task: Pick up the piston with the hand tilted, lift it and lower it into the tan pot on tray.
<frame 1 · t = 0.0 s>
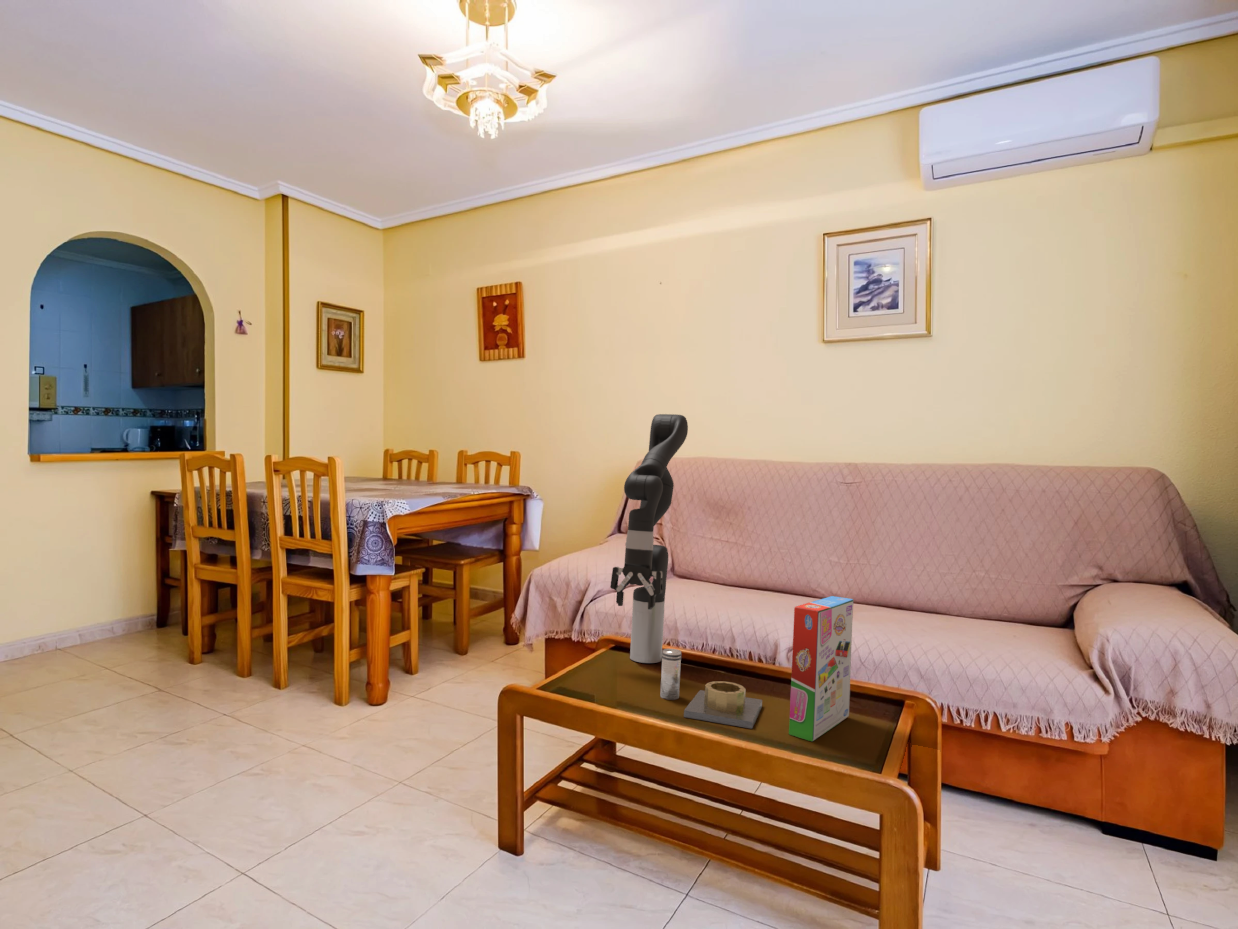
hand: (635, 607, 181), 17 cm above the table, tool pointing down, fingers open, 8 cm apart
tan pot on tray: (724, 711, 152), on the table
piston: (669, 696, 161), on the table
game box: (819, 727, 146), on the table
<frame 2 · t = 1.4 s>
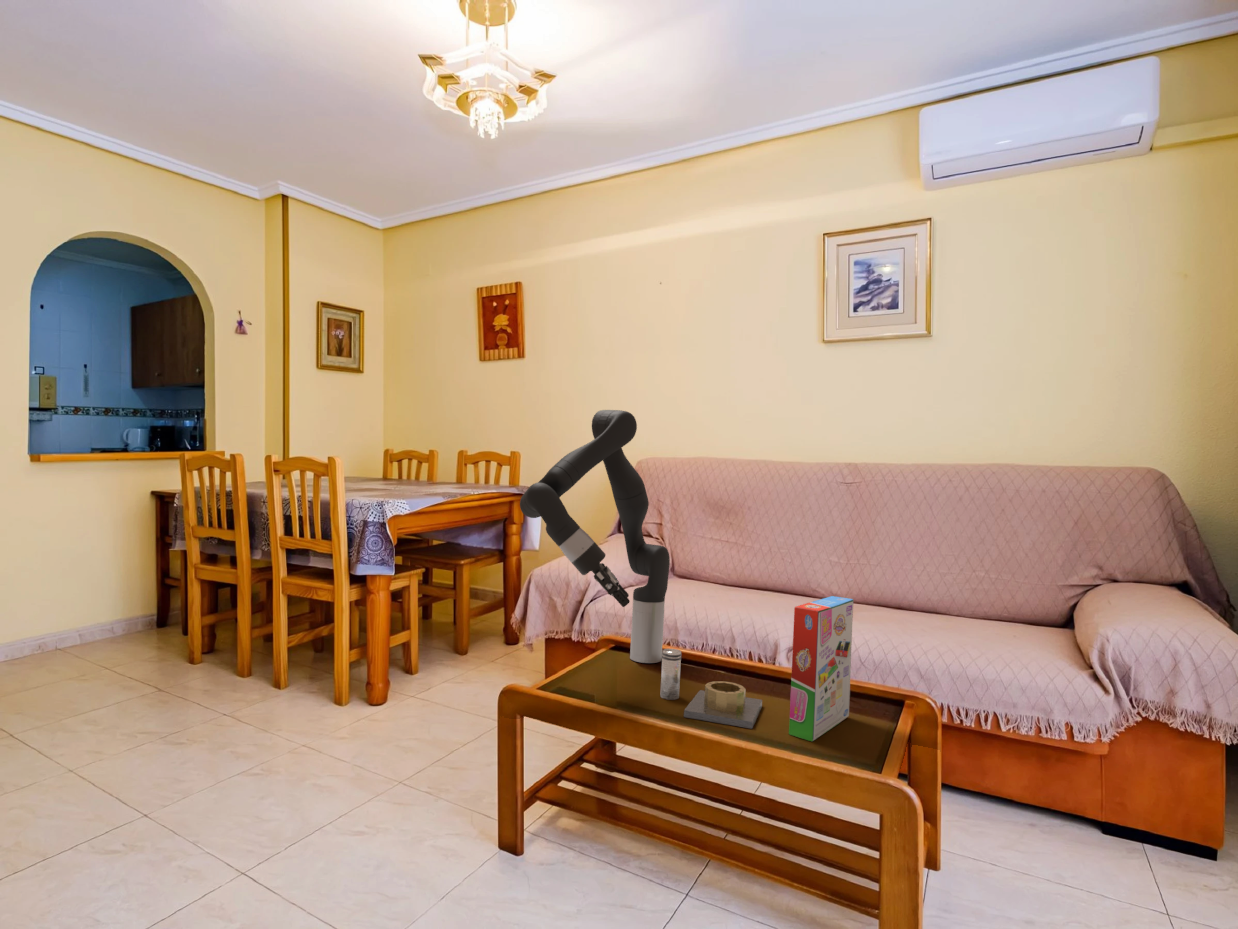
hand: (626, 601, 161), 22 cm above the table, tool tilted 45°, fingers open, 8 cm apart
nothing on the table moved.
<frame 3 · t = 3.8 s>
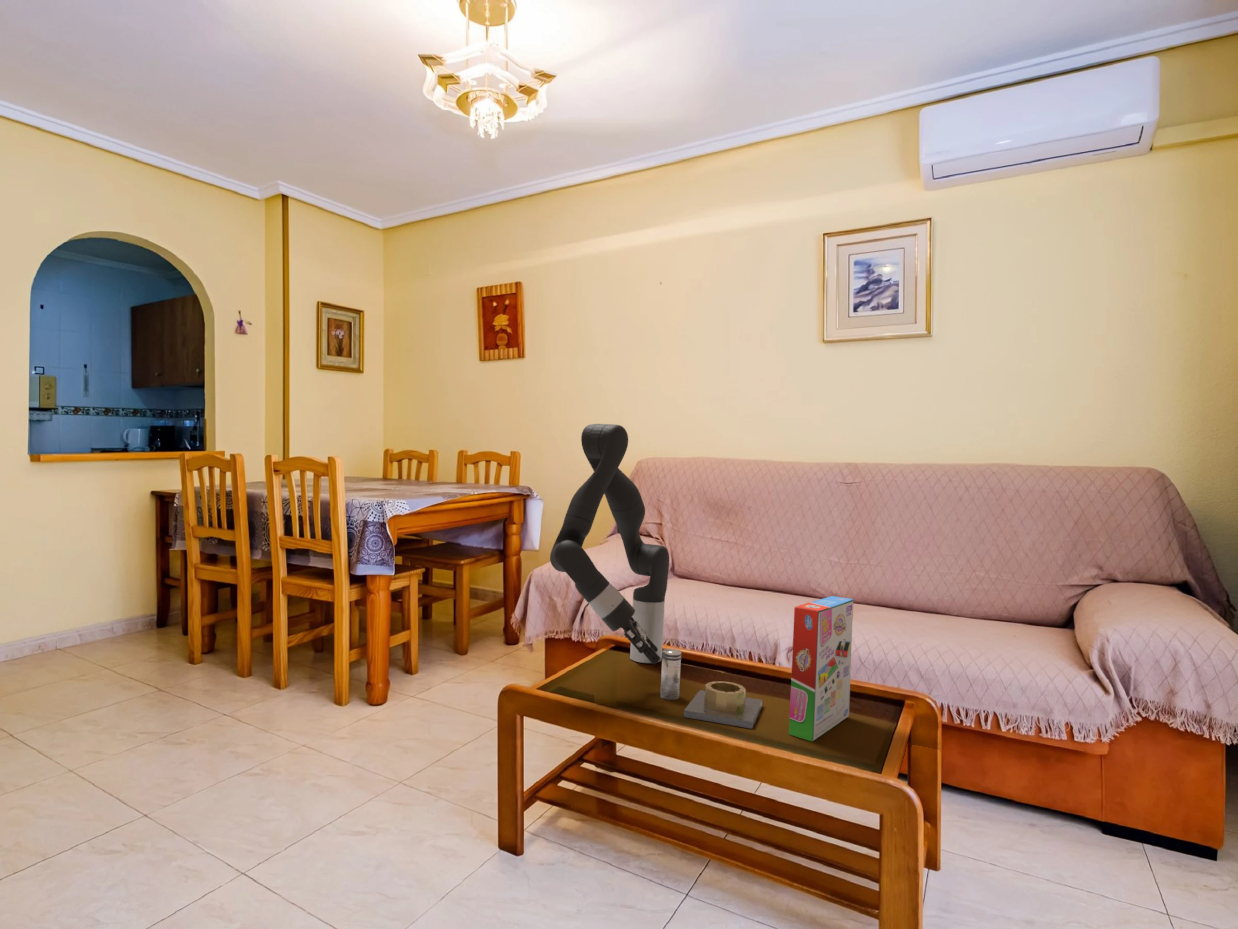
hand: (656, 657, 161), 9 cm above the table, tool tilted 45°, fingers open, 8 cm apart
nothing on the table moved.
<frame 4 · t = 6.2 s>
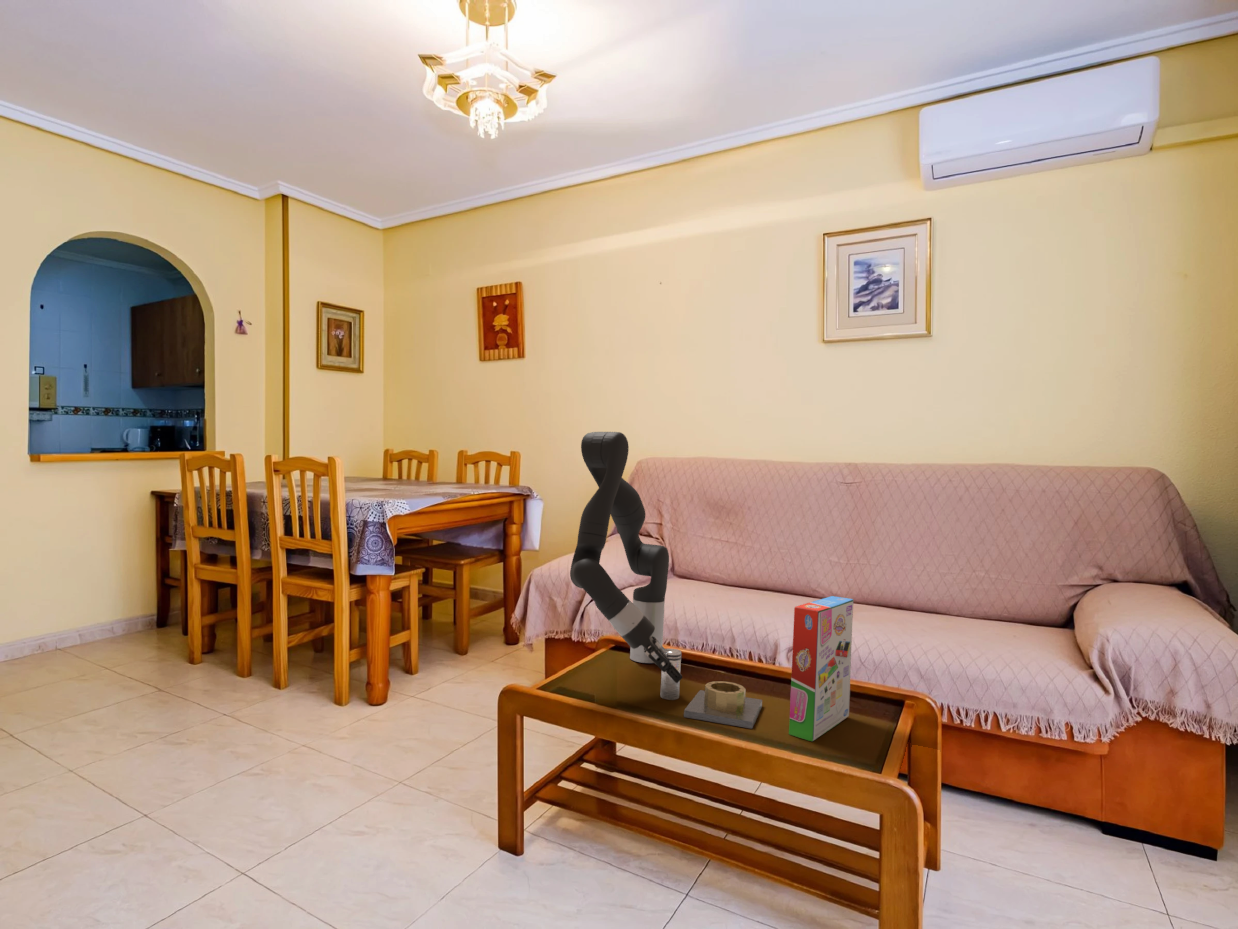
hand: (678, 676, 161), 5 cm above the table, tool tilted 45°, fingers closed on piston, 4 cm apart
piston: (669, 696, 161), on the table, touching gripper
everything else where it was.
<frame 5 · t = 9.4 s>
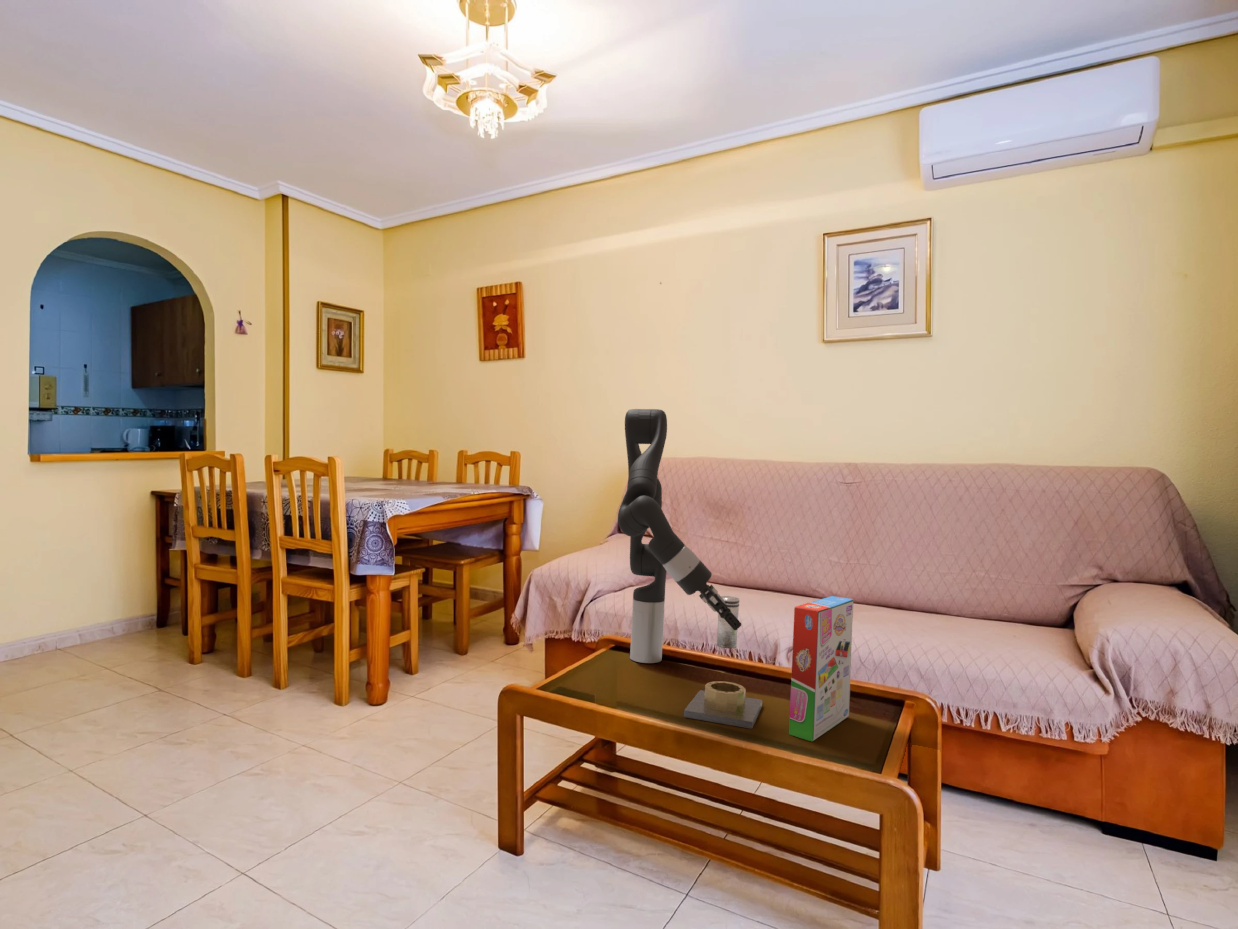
hand: (736, 624, 153), 20 cm above the table, tool tilted 45°, fingers closed on piston, 4 cm apart
piston: (726, 646, 153), point 15 cm above the table, touching gripper
everything else where it was.
when the fingers open (7 cm above the table, at t = 13.0 s): piston stays where it is, resting on tan pot on tray.
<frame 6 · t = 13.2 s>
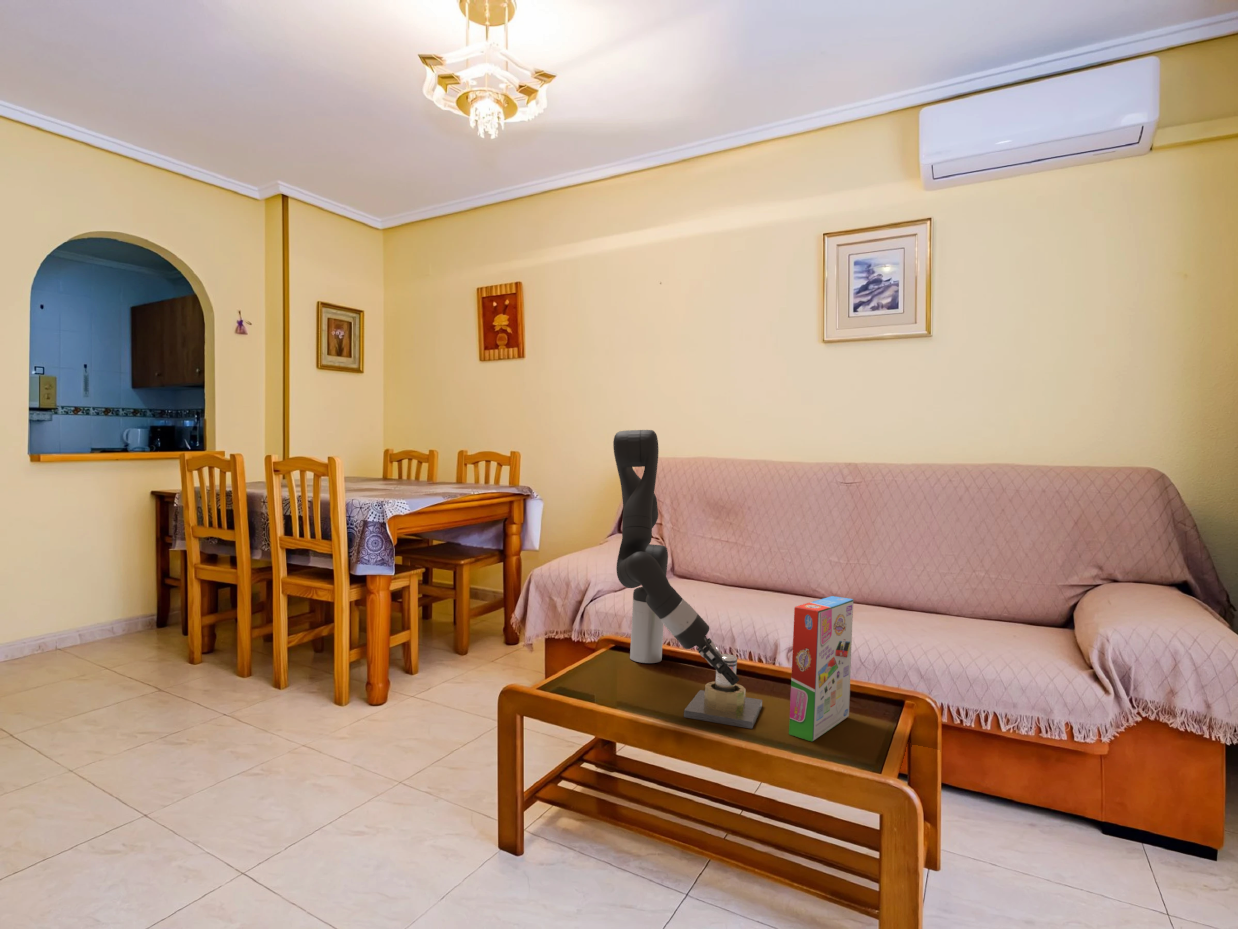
hand: (733, 677, 153), 8 cm above the table, tool tilted 45°, fingers open, 6 cm apart
piston: (723, 704, 152), point 2 cm above the table, touching tan pot on tray
everything else where it was.
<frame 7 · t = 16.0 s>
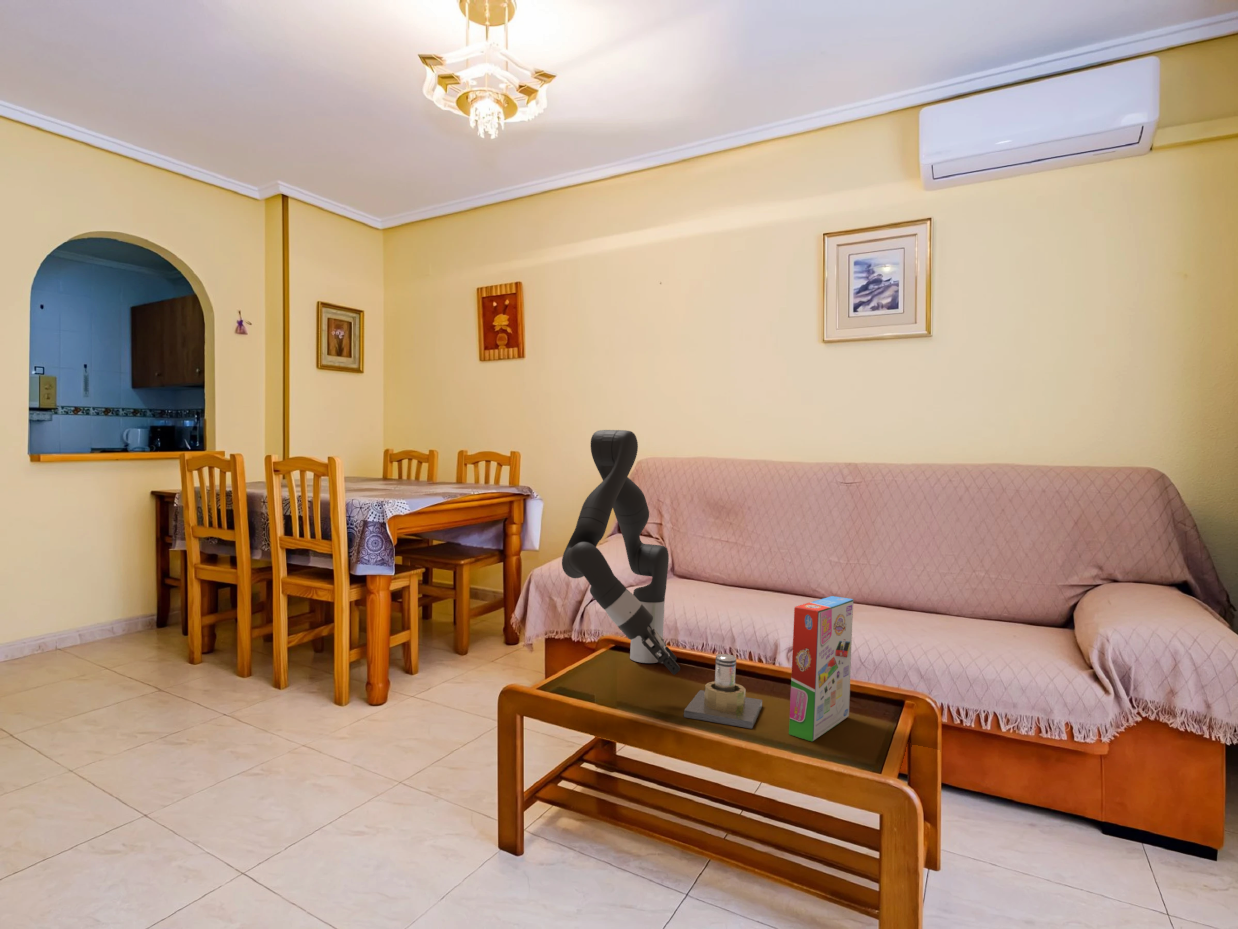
hand: (675, 666, 153), 10 cm above the table, tool tilted 45°, fingers open, 8 cm apart
nothing on the table moved.
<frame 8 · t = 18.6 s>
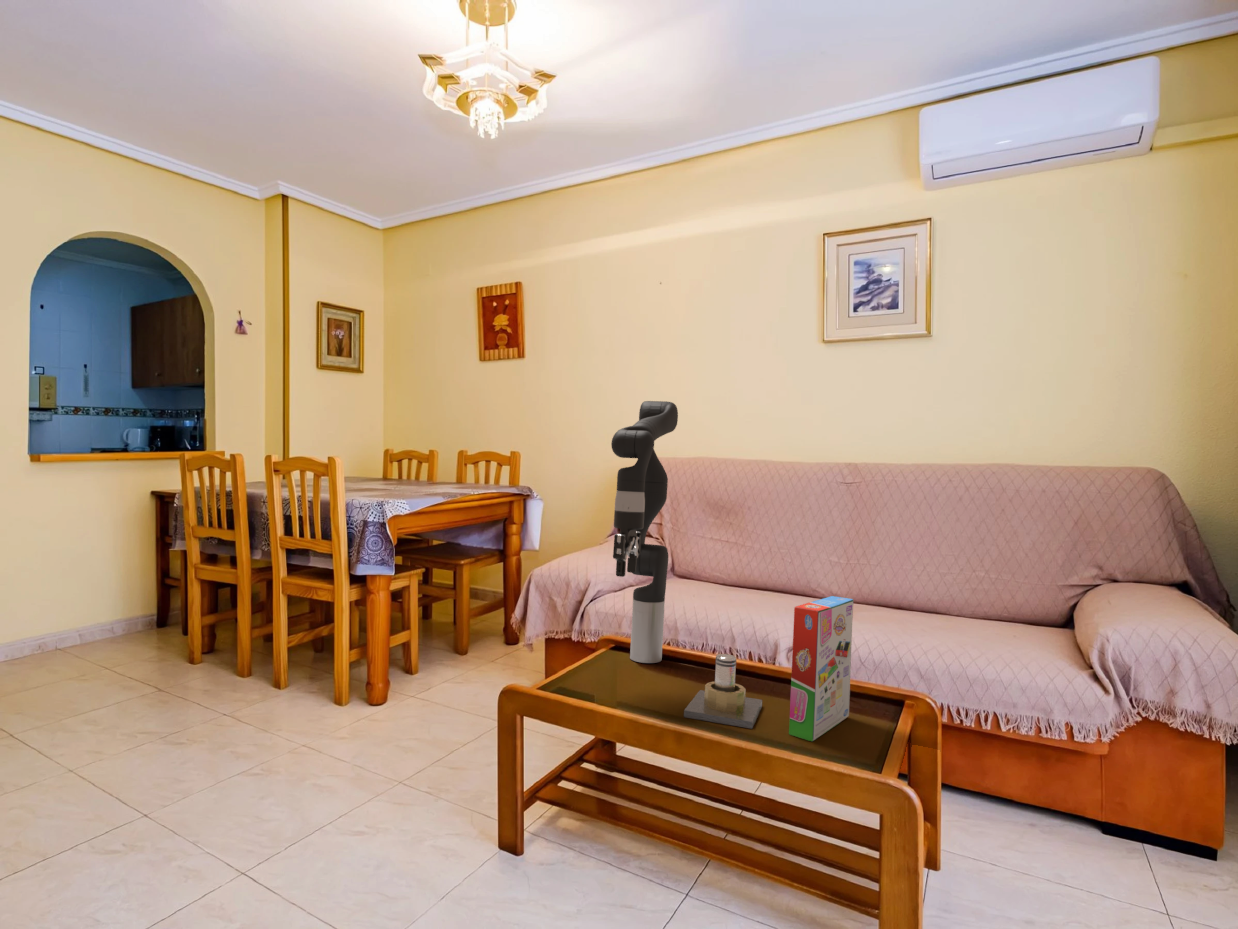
hand: (626, 574, 167), 28 cm above the table, tool pointing down, fingers open, 8 cm apart
nothing on the table moved.
at the end: piston 0.1 cm off-centre on the tan pot on tray, point 1.5 cm above the tan pot on tray's base; piston tilted 0°; the gripper is holding nothing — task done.
